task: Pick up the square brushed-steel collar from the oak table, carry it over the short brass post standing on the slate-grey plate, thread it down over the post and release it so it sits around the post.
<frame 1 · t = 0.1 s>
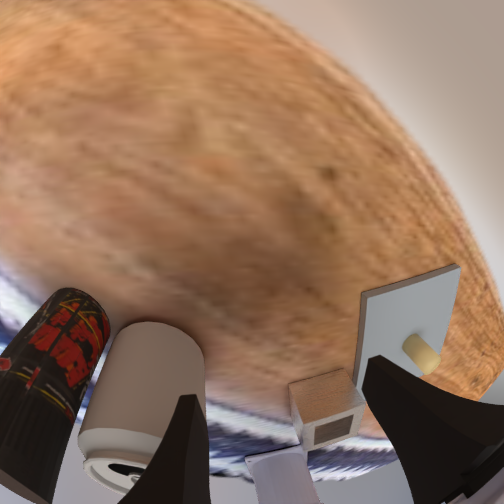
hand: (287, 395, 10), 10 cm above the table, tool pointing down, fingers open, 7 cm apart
collar: (316, 394, 24), on the table
can: (158, 352, 20), on the table
deodorant: (78, 319, 18), on the table
post block: (405, 337, 24), on the table
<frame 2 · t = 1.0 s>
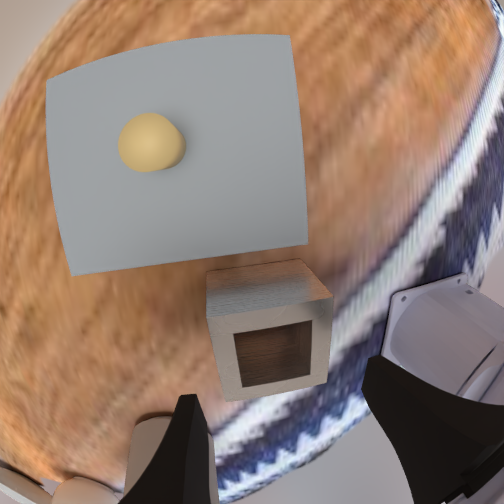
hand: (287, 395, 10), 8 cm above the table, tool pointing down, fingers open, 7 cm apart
serving bowl: (29, 481, 26), on the table
collar: (258, 306, 17), on the table
lidded bowl: (93, 485, 25), on the table
can: (173, 432, 21), on the table
post block: (167, 148, 13), on the table
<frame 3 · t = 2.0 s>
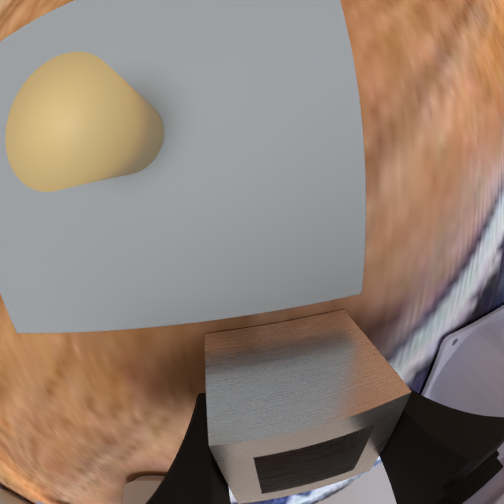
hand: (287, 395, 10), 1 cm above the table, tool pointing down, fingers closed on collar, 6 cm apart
serving bowl: (23, 499, 20), on the table
collar: (279, 373, 11), on the table, touching gripper
can: (170, 486, 15), on the table
post block: (135, 139, 7), on the table
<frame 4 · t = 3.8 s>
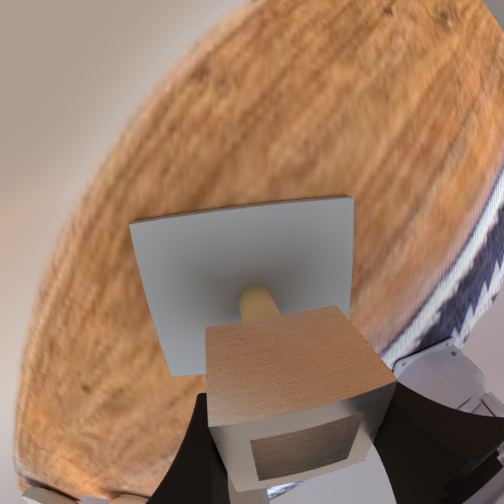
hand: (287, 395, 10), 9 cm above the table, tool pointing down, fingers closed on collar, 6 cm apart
serving bowl: (63, 497, 31), on the table
collar: (276, 366, 12), point 7 cm above the table, touching gripper
lidded bowl: (138, 499, 30), on the table
can: (228, 458, 26), on the table
post block: (252, 292, 19), on the table
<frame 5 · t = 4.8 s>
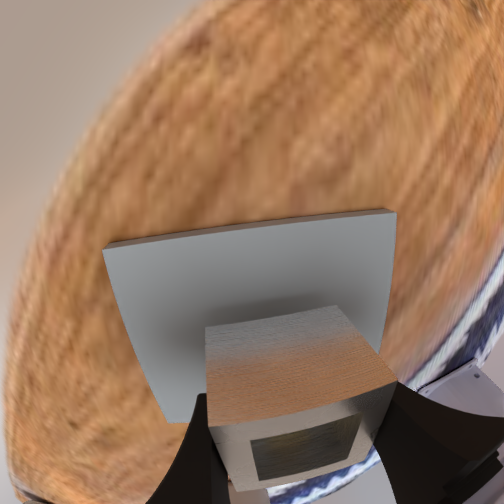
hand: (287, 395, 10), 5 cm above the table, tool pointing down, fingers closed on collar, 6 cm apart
collar: (276, 366, 12), point 3 cm above the table, touching gripper
can: (233, 488, 22), on the table
post block: (265, 331, 14), on the table
when the fingers open (3 cm above the table, at t = 5.6 s): collar stays where it is, resting on post block.
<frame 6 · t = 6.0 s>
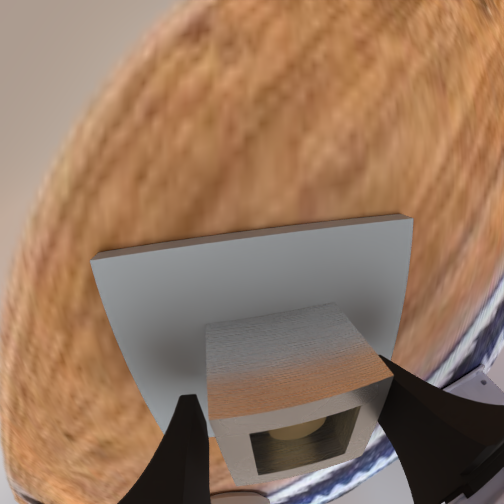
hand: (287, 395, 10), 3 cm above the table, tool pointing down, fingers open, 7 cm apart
collar: (275, 362, 12), point 1 cm above the table, touching post block
can: (234, 497, 20), on the table
post block: (270, 346, 13), on the table
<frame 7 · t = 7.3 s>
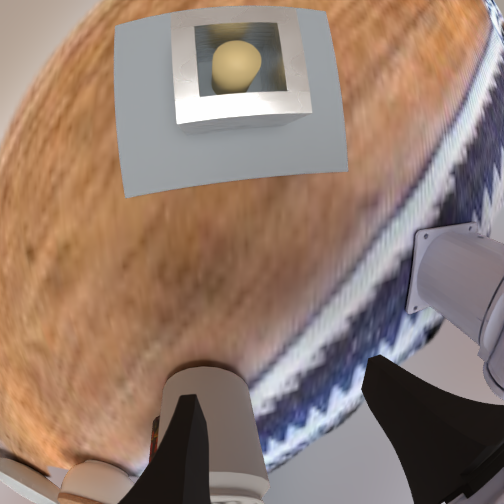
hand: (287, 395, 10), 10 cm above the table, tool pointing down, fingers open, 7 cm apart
serving bowl: (34, 473, 27), on the table
collar: (230, 85, 14), point 1 cm above the table, touching post block
lidded bowl: (106, 469, 26), on the table
can: (205, 388, 22), on the table
post block: (229, 87, 15), on the table
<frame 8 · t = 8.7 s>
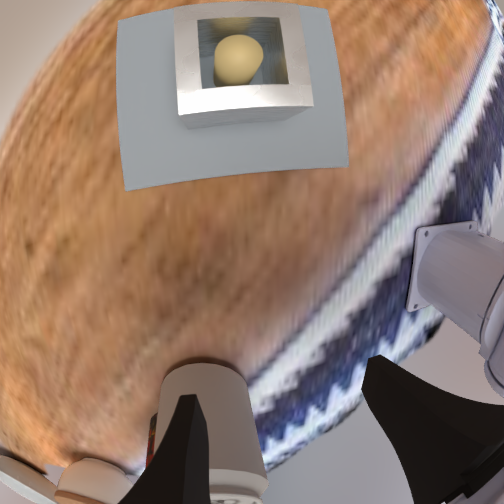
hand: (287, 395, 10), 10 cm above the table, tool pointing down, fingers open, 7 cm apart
serving bowl: (31, 470, 27), on the table
collar: (232, 80, 14), point 1 cm above the table, touching post block
lidded bowl: (103, 467, 26), on the table
can: (204, 385, 22), on the table
deodorant: (178, 425, 23), on the table
post block: (230, 82, 15), on the table
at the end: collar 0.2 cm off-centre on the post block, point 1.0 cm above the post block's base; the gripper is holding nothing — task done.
